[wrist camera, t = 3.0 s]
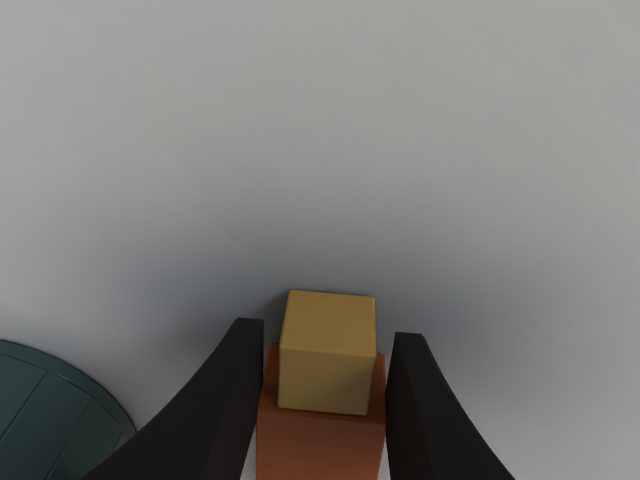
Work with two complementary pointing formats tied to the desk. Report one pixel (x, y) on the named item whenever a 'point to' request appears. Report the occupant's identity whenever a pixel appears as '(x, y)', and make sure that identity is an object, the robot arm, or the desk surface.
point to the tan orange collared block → (323, 392)
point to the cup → (53, 418)
